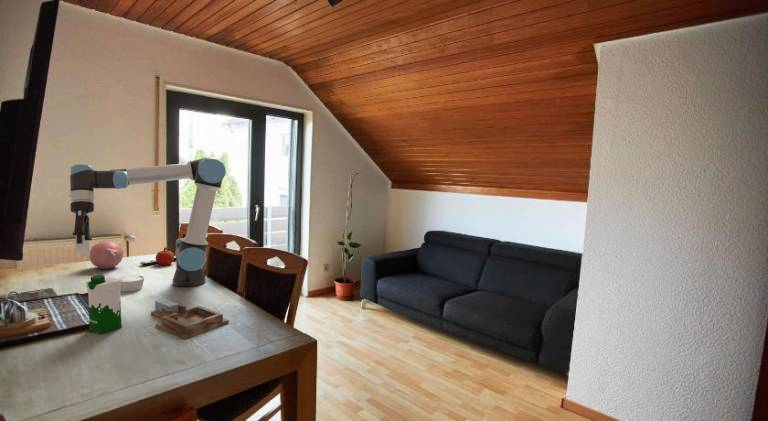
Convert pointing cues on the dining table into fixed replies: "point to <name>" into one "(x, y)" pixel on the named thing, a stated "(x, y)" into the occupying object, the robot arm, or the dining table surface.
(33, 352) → the dining table surface
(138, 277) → the ramekin
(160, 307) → the lock bar
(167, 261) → the fruit
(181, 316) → the brown wooden tray
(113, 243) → the pink ovoid shape
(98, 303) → the soya milk
